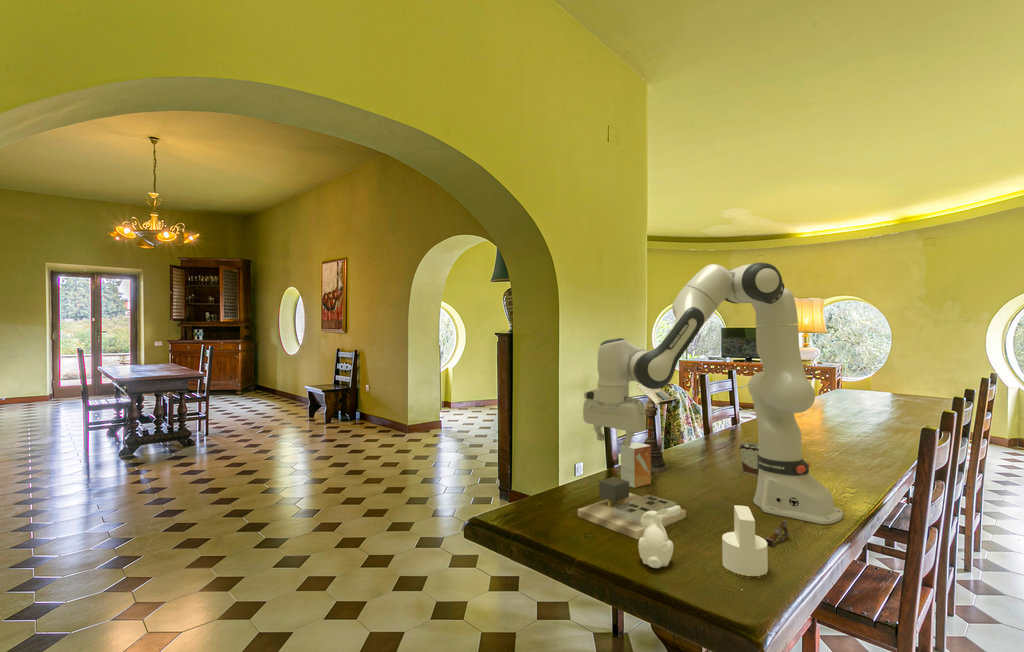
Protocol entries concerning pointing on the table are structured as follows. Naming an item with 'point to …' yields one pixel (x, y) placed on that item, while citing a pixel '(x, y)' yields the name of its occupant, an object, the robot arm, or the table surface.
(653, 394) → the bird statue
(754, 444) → the food container
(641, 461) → the small box
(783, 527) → the wooden post with brackets
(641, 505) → the socket
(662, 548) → the rabbit
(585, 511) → the board
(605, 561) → the table surface
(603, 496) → the plug
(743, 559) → the cylinder with rectangular tab
